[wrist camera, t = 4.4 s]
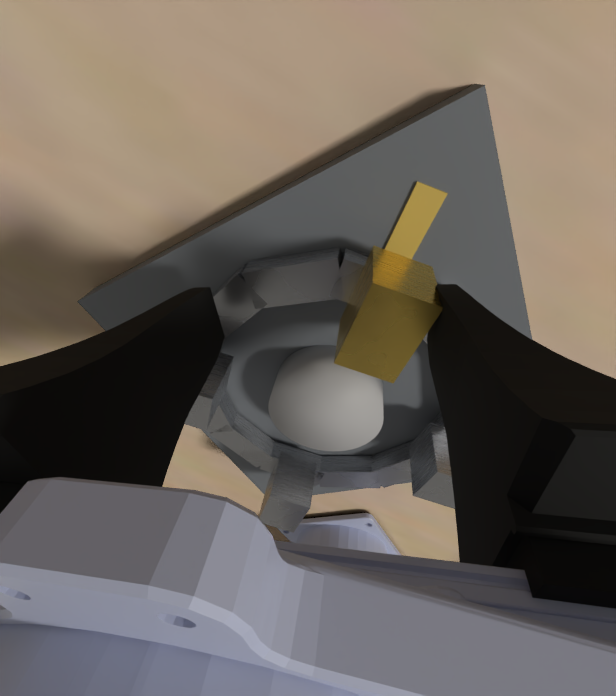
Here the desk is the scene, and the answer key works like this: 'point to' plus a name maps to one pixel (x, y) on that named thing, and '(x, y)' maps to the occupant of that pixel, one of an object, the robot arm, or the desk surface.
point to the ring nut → (351, 352)
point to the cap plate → (324, 316)
